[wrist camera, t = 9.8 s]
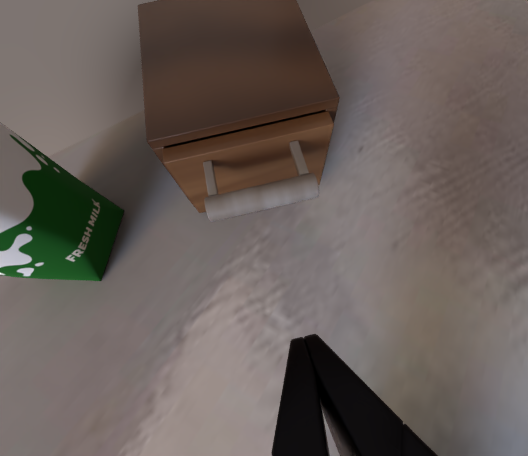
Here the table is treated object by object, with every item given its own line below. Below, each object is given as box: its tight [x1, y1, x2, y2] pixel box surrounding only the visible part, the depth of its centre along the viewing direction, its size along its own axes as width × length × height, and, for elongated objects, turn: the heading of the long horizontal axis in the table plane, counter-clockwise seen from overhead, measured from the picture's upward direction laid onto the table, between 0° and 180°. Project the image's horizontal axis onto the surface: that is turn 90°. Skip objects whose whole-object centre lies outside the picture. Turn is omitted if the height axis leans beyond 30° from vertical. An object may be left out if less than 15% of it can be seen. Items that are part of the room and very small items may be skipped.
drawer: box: [162, 111, 334, 222], centre depth 22 cm, size 18×11×8 cm, turn 12°
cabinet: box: [138, 0, 339, 207], centre depth 24 cm, size 15×13×10 cm
